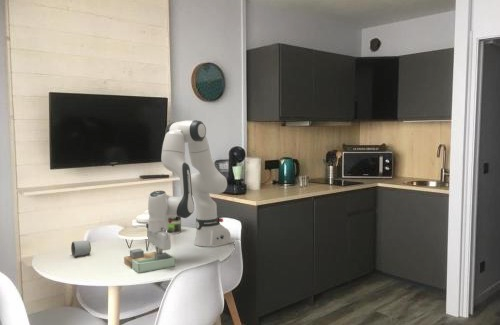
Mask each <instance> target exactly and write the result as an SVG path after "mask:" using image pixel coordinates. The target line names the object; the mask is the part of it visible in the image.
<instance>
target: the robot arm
mask: <svg viewBox="0 0 500 325" xmlns="http://www.w3.org/2000/svg"><path fill="white" fill-rule="evenodd" d="M164 133H165V135H164V139H163V142H162V146H161V147H162V148H161V158H160V159H161V164H162V165H163V167H164V168H165V169H166V170H168V171H169V172H172V173H174V174H176V176H178V177H179V180H180V183H179V184H180V196H173V195H169V194H167V192H166V191H164V190H155V191H152V192H150V194H149V196H148V202H147V203H148V204H147V207H148V208H147V210H148V212H149V222H148V223H146V228H147V237H148V239H147V241H148V243H150V244H151V245H153V246H154V248H155V252H156V254H158V253H162V252H163V251H169V250H171V247H172V246H171V244H172V243H171V234H169V233H168V232H167V230H168V217H167V216H173V217H181V219H188V218H189V217H190V216H191V215H192V214H193V213H194V211H195V210H196V218H195V225H196V226H195V228H196V231H195V232H196V234H195V240H194V246H197V247H211V248H212V247H213V248H216V247H217V248H218V247H220V246H224V245H228V244H229V245H230V244H232V243H235V238H233V237H231V232H230V230H229V229H228V228H226V227H225V226H223V225H222V224H221V223H223V222H224V219H223V218H219V217H218V214H217V213H218V210H217V208H218V207H217V202H216V201H214V199H212V197H211V196H210V194H211V195H217V194H222V193H224V192H225V191H226V190H227V188H228V181H227V178H226V177H225V175H223V174H222V173H221V172H220V171H219V170H218V168H217V167H216V165H215V164H214V161H213V159H212V154H211V149H210V146H209V141H208V138H207V135H206V134H207V127H206V125H205V124H204V122H203V121H201V120H197V119H195V120H187V119H186V120H182V121H174V122H170V123H168V124H167V126H166V128H165V132H164ZM186 143H187V149H188V154H189V158H190V164H191V165H192V167H193V168H194V169H195V170H197V171H198V172H194V173H191V168H190V165H189V163H187V162H186V158H185V152H186ZM195 207H196V209H195ZM163 253H164V252H163Z"/></svg>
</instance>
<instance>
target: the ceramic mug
mask: <svg viewBox="0 0 500 325" xmlns="http://www.w3.org/2000/svg"><path fill="white" fill-rule="evenodd" d="M91 245H92V244H91V242H90V241H89V240H76V241H72V242H71V245H70V247H71V248H70V249H71V256H72V257H73V258H77V257H83V256H88V255H90V254H91V251H92V246H91Z"/></svg>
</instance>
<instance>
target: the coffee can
mask: <svg viewBox="0 0 500 325" xmlns="http://www.w3.org/2000/svg"><path fill="white" fill-rule="evenodd" d="M167 217H168V230H167V232H168V233H169V235H177V234H180V233H182V218H181V217H173V216H167Z"/></svg>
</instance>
